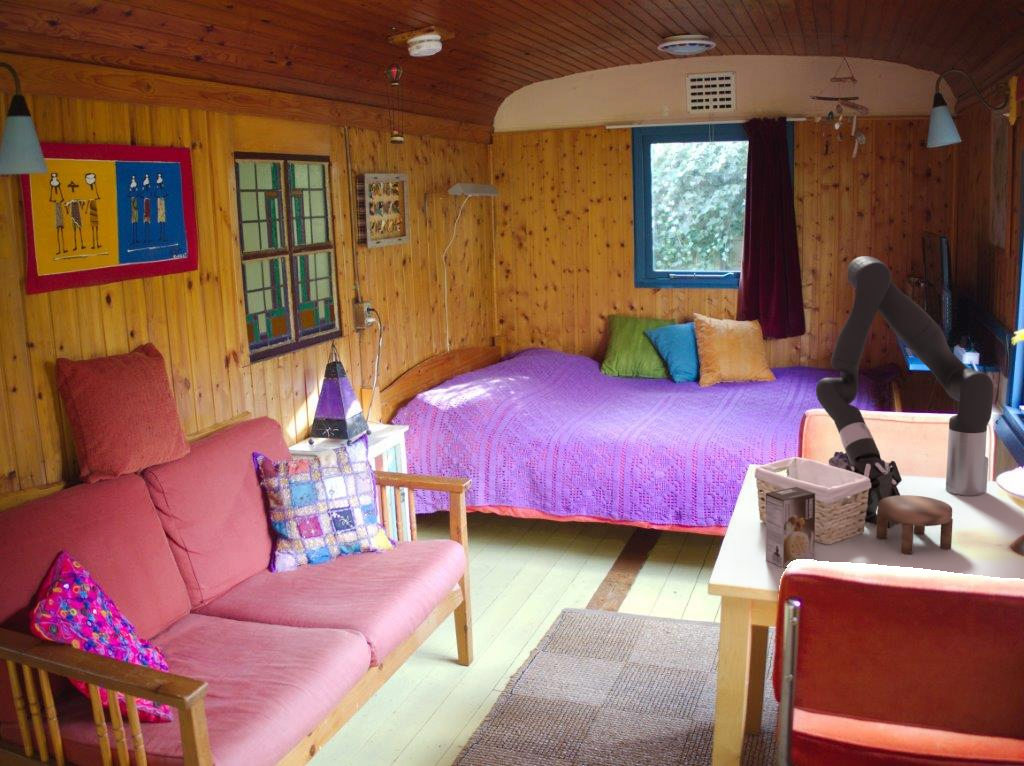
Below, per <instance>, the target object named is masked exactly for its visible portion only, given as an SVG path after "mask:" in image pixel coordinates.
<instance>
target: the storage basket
mask: <svg viewBox="0 0 1024 766" xmlns="http://www.w3.org/2000/svg"><path fill="white" fill-rule="evenodd" d="M754 470H755V472H754V478H755V480H756V481H755V482H756V489H757V498H758V499H757V501H758V502H757V505H758V512H759V520H760V521H762V522H764V523H765V524H766V493H769V492H774V491H779V490H783V489H788V488H793V487H798V488H801V489H804V490H807V491H810V492H813V493H815V542H816V543H817V542H818V543H820V544H823V545H832V544H834V543H838V542H840V541H844V540H846V539H850V538H853V537H857V536H859V535H861V534H862V533H863V532H864V531H865V526H866V522H865V518H866V510H867V507H868V505H867V502H868V492H869V488H871V483H870V479H869V478H868V477H866V476H863V475H861V474H858V473H855V472H851V471H848V470H845V469H841V468H838V467H834V466H831V465H829V464H827V463H824V462H820V461H817V460H815V459H814V460H813V459H809V458H805V457H798V456H794V457H789V458H784V459H781V460H780V459H779V460H777V461H774V462H769V463H766V464H763V465H760V466H756V467H755V469H754ZM783 471H785V473H786V474H787V476H786V475H784V474H783V475H782V474H779V473H780V472H783ZM860 519H862V520H860Z"/></svg>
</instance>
